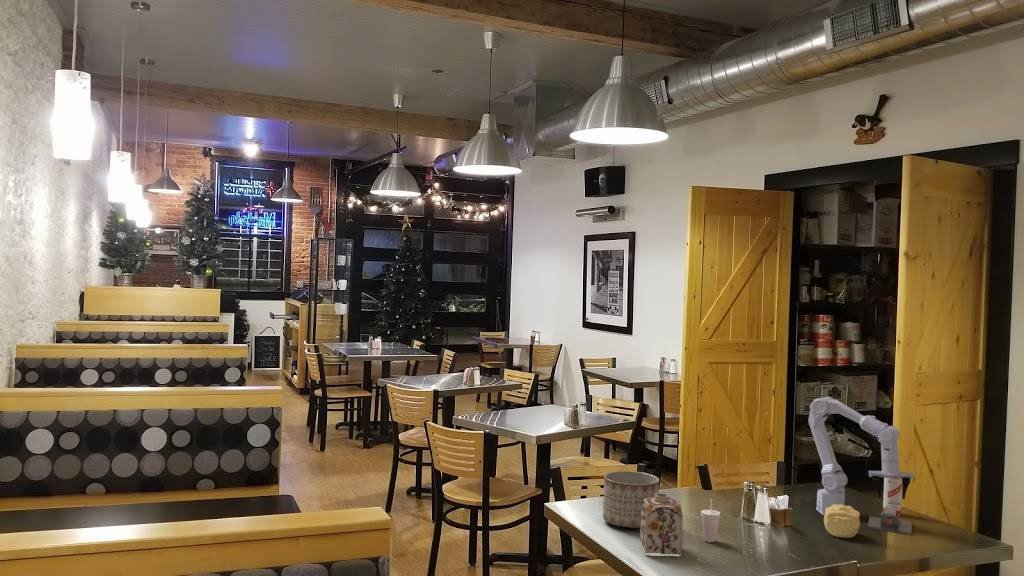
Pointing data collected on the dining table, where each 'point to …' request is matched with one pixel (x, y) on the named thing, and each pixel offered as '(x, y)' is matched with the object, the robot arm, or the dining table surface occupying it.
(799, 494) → the dining table surface
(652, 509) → the decorative jar
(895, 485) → the beer can
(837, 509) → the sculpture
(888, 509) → the block
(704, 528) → the smoothie
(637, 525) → the planter
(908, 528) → the grey square base
